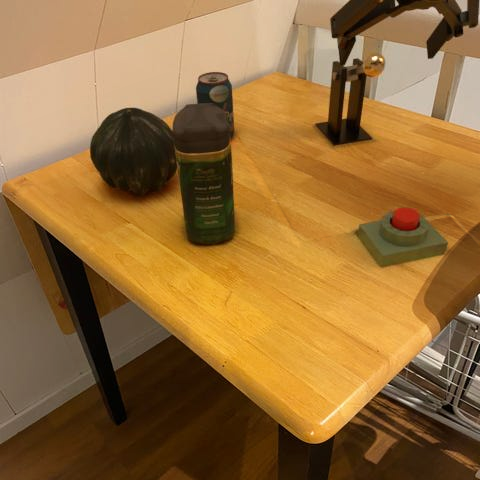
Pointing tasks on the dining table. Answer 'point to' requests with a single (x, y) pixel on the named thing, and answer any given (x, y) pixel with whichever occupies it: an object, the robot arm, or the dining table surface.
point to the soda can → (217, 94)
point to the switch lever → (367, 67)
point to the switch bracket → (337, 127)
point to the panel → (400, 241)
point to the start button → (405, 219)
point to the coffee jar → (205, 172)
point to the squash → (134, 151)
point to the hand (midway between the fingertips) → (385, 53)
